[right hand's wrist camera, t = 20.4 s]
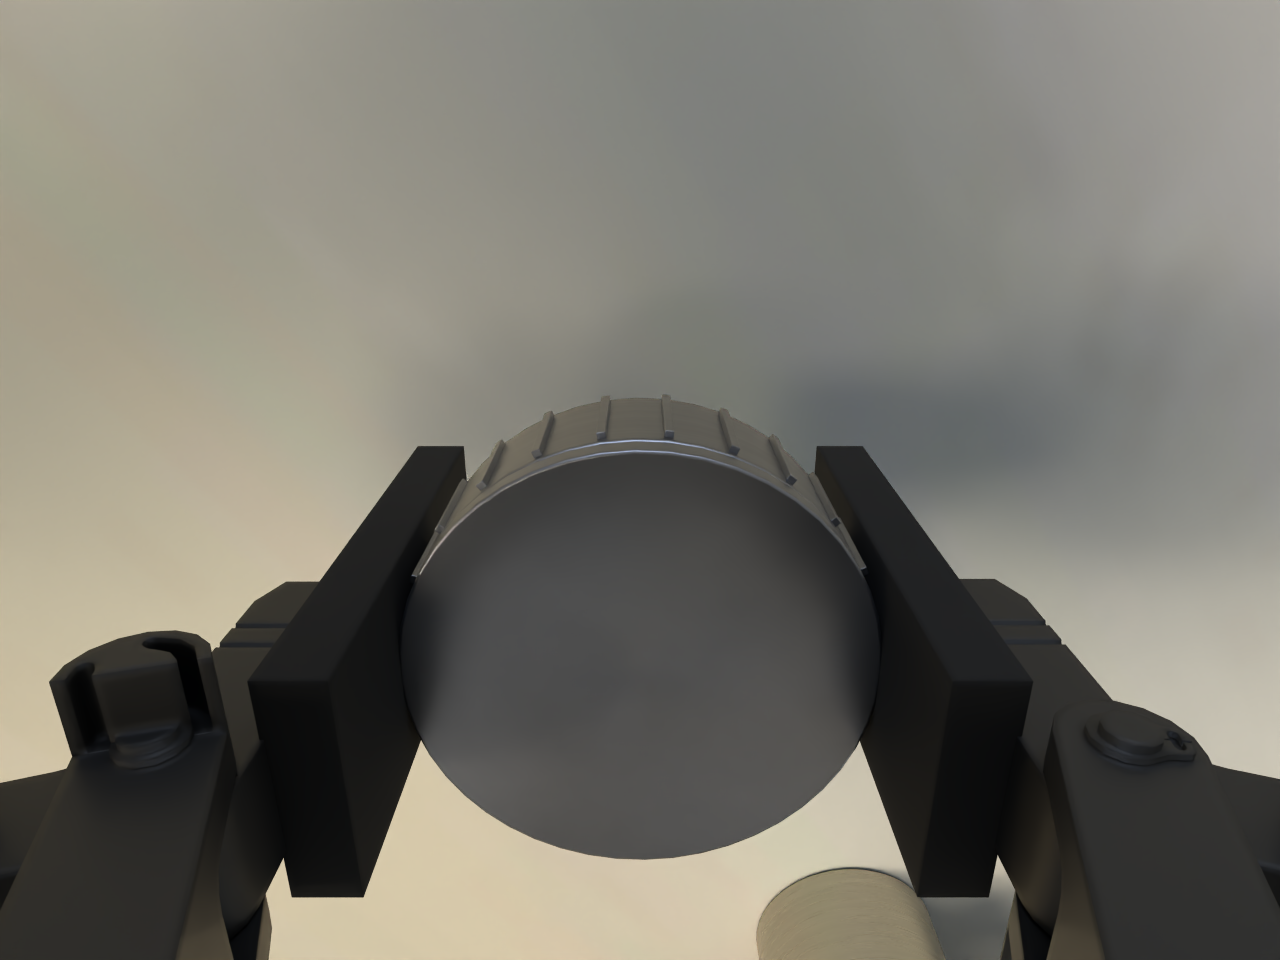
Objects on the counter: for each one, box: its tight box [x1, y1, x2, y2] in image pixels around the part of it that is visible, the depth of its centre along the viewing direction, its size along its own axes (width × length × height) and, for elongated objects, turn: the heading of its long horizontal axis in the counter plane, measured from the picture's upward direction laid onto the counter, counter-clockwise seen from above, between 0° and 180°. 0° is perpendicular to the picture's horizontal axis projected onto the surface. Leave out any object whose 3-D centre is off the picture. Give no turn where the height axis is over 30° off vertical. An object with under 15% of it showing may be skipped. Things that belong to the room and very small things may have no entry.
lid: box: [399, 395, 882, 860], centre depth 11 cm, size 6×6×2 cm
